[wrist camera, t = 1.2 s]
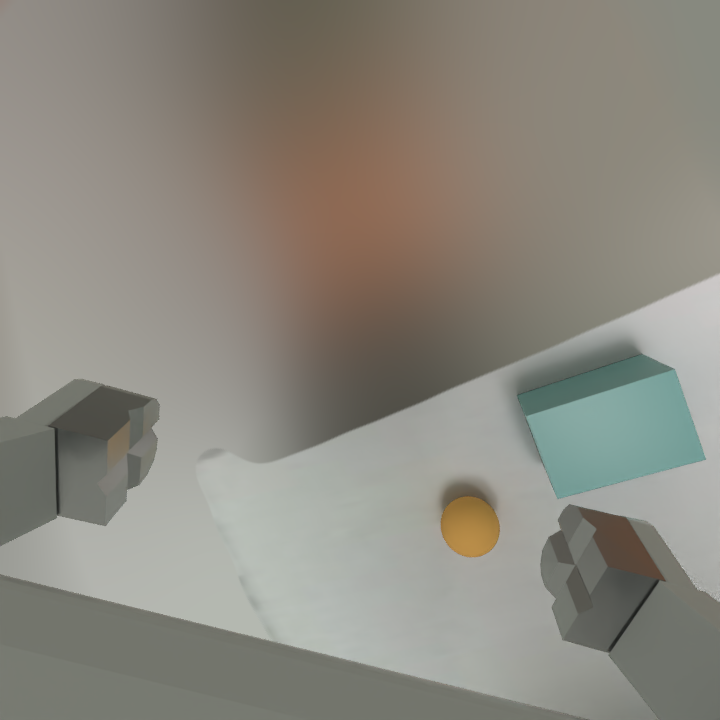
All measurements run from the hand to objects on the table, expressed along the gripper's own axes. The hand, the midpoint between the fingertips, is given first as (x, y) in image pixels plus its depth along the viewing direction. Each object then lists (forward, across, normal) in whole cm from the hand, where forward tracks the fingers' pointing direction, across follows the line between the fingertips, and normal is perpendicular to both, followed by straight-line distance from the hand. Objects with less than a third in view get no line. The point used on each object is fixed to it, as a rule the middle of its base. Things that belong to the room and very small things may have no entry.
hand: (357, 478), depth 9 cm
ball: (+26, +13, -21) cm, 36 cm away
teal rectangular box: (+29, +20, -10) cm, 36 cm away
